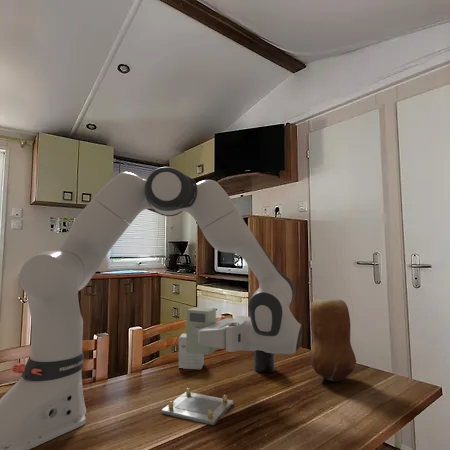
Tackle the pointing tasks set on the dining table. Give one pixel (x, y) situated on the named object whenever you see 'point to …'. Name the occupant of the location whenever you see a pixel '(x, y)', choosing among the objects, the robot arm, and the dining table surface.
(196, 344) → the block
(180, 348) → the small box
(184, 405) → the plate
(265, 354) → the supplement bottle
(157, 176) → the robot arm
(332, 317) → the butternut squash
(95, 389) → the dining table surface
